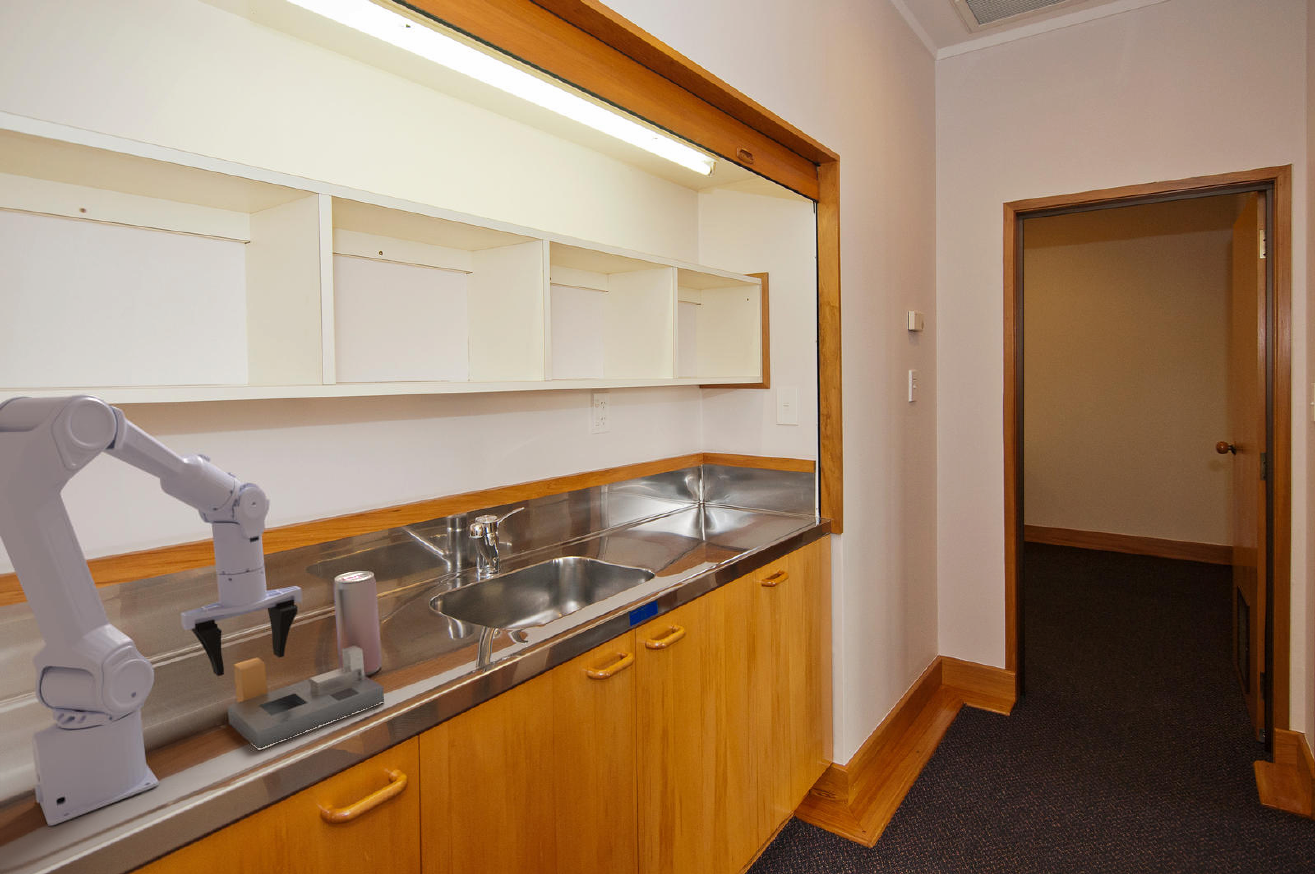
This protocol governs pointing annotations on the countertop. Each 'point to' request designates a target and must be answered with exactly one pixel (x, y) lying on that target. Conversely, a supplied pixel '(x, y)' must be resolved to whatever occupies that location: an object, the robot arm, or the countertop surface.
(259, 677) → the orange rectangular block
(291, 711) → the rosette plate
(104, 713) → the robot arm
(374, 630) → the beverage can
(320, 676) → the bracket
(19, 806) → the countertop surface
